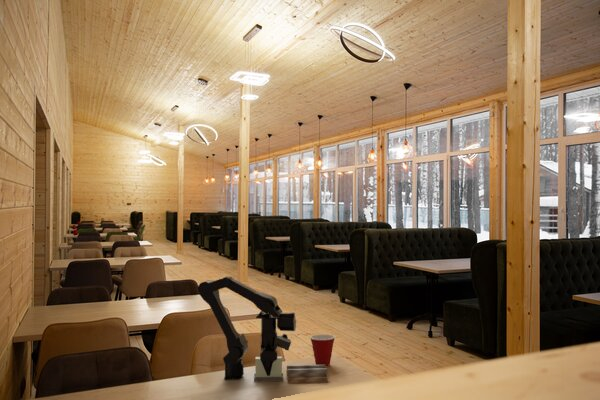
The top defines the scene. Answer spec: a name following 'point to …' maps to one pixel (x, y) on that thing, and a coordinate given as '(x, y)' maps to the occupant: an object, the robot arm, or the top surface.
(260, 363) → the door panel
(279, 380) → the grey upright bracket
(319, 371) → the track plinth
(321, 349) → the plastic cup
